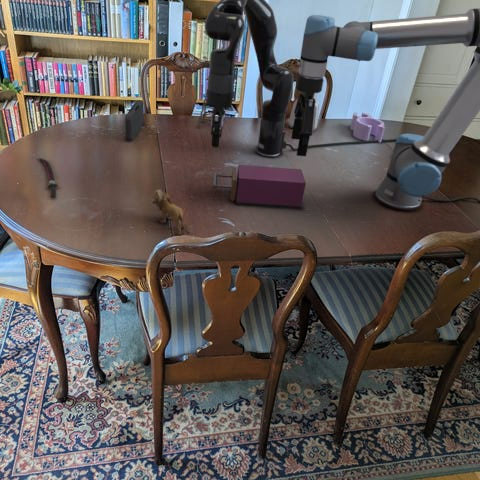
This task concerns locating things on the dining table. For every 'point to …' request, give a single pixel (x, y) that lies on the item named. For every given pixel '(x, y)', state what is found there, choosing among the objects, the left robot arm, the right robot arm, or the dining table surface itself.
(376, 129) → the clip
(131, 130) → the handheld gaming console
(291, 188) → the purple rectangular box
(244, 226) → the dining table surface
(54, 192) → the sword
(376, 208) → the dining table surface
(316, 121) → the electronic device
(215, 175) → the drawer
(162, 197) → the lion figurine
